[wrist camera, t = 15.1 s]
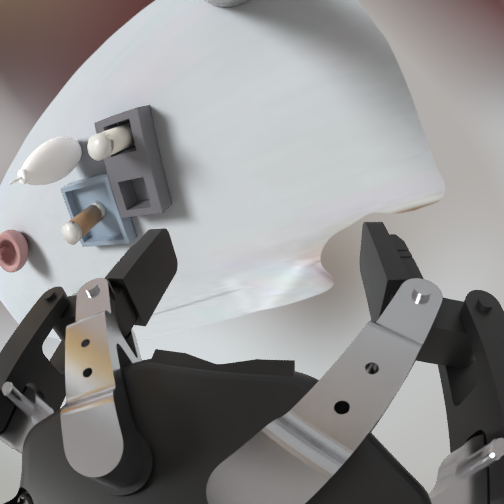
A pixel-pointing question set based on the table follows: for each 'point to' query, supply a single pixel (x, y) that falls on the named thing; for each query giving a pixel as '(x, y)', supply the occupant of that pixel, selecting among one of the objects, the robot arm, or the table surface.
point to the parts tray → (112, 225)
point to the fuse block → (137, 166)
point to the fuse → (110, 142)
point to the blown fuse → (83, 222)
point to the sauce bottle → (50, 161)
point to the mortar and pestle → (13, 250)
